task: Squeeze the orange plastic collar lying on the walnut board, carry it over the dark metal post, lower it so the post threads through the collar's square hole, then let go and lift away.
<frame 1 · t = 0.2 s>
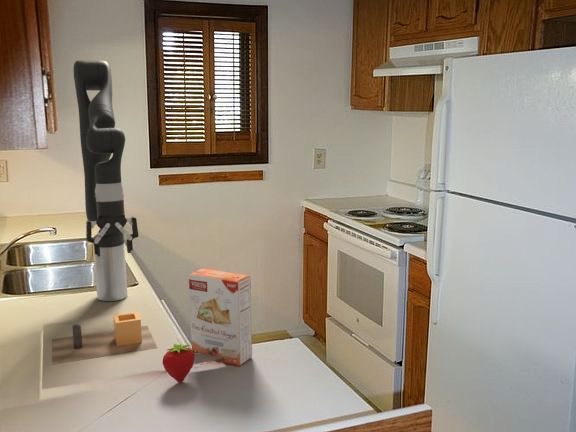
hand: (113, 254, 172), 17 cm above the worktop, tool pointing down, fingers open, 8 cm apart
board: (103, 349, 149), on the worktop
collar: (128, 339, 150), point 1 cm above the worktop, touching board
cracker box: (221, 358, 143), on the worktop
strawberry: (179, 382, 131), on the worktop
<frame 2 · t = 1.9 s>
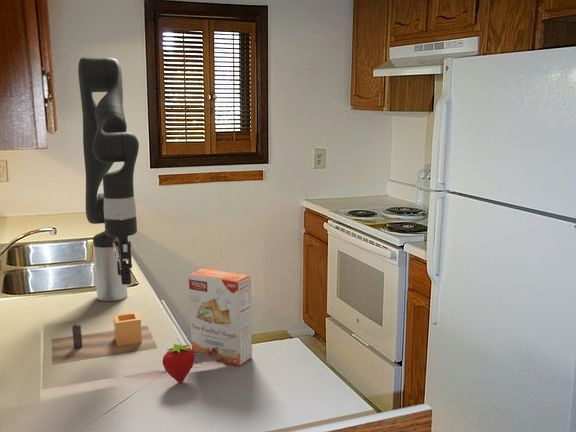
hand: (124, 279, 147), 17 cm above the worktop, tool pointing down, fingers open, 8 cm apart
nothing on the worktop moved.
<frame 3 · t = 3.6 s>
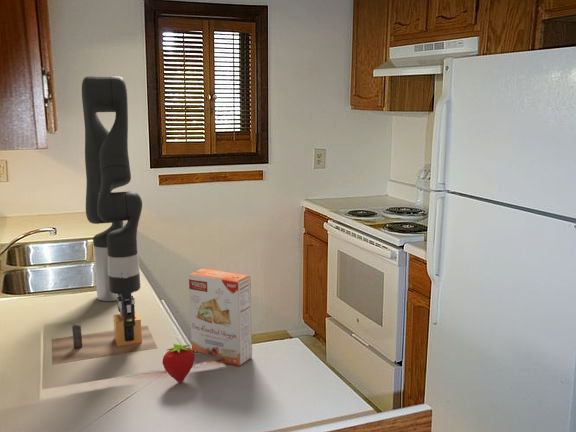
hand: (127, 335, 150), 3 cm above the worktop, tool pointing down, fingers closed on collar, 6 cm apart
collar: (128, 339, 150), point 2 cm above the worktop, touching board, gripper
everything else where it was.
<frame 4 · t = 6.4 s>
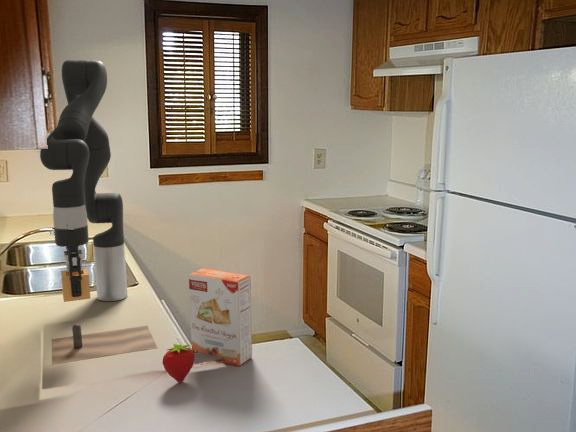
hand: (76, 292, 143), 16 cm above the worktop, tool pointing down, fingers closed on collar, 6 cm apart
collar: (76, 296, 144), point 15 cm above the worktop, touching gripper
everything else where it was.
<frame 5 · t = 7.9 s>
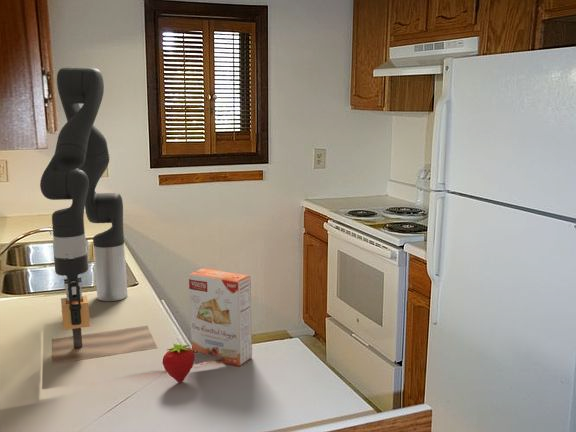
hand: (75, 319, 145), 9 cm above the worktop, tool pointing down, fingers closed on collar, 6 cm apart
collar: (76, 324, 145), point 8 cm above the worktop, touching gripper
everything else where it was.
when the fingers open (4 cm above the worktop, at t = 9.3 s): collar drops 1 cm, resting on board.
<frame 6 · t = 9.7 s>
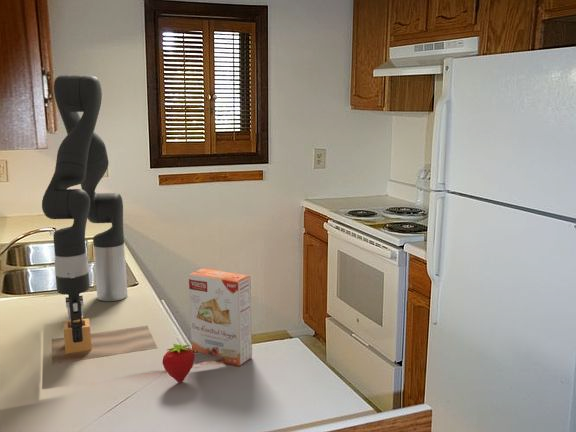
hand: (77, 335, 145), 5 cm above the worktop, tool pointing down, fingers open, 8 cm apart
collar: (78, 347, 146), point 1 cm above the worktop, touching board
everything else where it was.
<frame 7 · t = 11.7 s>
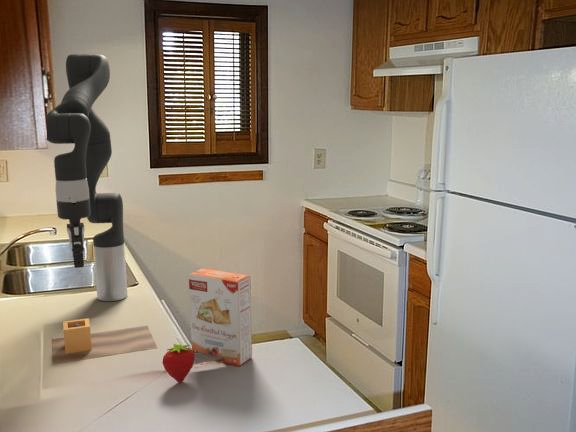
hand: (78, 262, 146), 22 cm above the worktop, tool pointing down, fingers open, 8 cm apart
nothing on the worktop moved.
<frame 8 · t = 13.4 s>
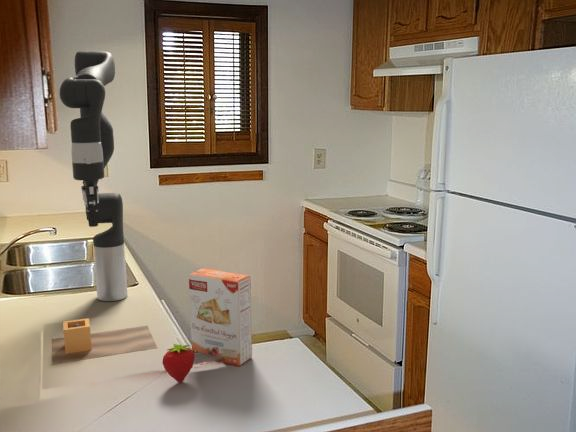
hand: (92, 223, 153), 30 cm above the worktop, tool pointing down, fingers open, 8 cm apart
nothing on the worktop moved.
at the end: collar 0.1 cm from the target spot on the board, point 1.5 cm above the board's base; collar tilted 0°; the gripper is holding nothing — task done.
